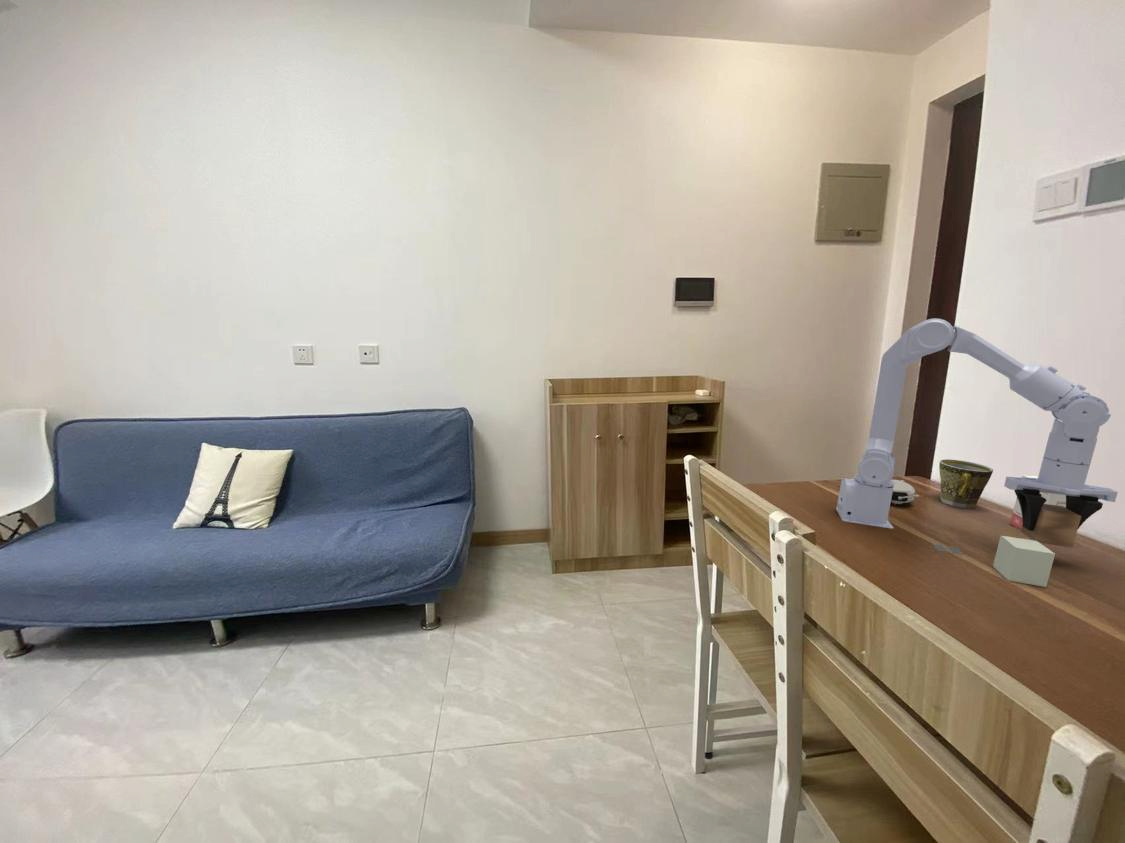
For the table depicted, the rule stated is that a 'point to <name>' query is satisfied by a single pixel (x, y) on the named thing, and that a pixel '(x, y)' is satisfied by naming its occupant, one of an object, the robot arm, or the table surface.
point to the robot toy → (902, 492)
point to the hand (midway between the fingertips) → (1047, 531)
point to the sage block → (1023, 561)
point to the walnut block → (1055, 526)
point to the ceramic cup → (962, 482)
